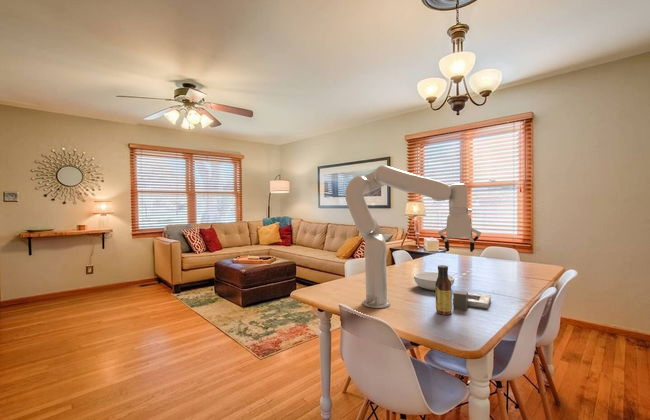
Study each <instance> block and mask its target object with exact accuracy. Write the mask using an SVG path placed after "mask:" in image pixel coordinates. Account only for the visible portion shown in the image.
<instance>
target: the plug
mask: <svg viewBox="0 0 650 420" xmlns="http://www.w3.org/2000/svg"><path fill="white" fill-rule="evenodd" d="M468 293H469V292H468V291H466V292H465V290H456V289H455V290H454V292H453V298H452V300H453V299H454V304H453V310H457V311H464V312H467V310H468V309H469V307H468Z"/></svg>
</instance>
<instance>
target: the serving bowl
mask: <svg viewBox="0 0 650 420" xmlns="http://www.w3.org/2000/svg"><path fill="white" fill-rule="evenodd" d="M437 278H438V272H435V271H434V272H433V271H425V272H424V271H423V272H417V273H414V275H413V280H414V282H415V284H416V285H417V286H419V287H420V288H423V289H425V290H428V291H435V284H436V281H437ZM448 278H449V280H450V282H451V287H452V286H453V285H454V283H455V279H456V278H455V277H454V276H453V275H451V274H448Z"/></svg>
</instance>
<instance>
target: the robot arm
mask: <svg viewBox="0 0 650 420" xmlns="http://www.w3.org/2000/svg"><path fill="white" fill-rule="evenodd" d="M384 186H386V187H390V188H393V189H396V190H399V191H402V192H406V193H410V194H418V195H422V196H425V197H428V198H431V200H433V201H436V202H443V201H448V212H449V214H447V218H446V227H445V228H443V229H442V230H441V229H440V230H439V231H438V233H437V234H438V235H439V237H440V238H441V240H443V242H444V248H445V249H446V250H445V251H446V252H448V251H450V241H449V240H450V239H468V240H469V241H470V242H469V250H470V251H469V252H470V253H473V252H474V250H475V243H476V241H477V240H478V239H479V238H480V237H481V235H482V232H481V231H479V230H477V229H475V228H473V224H472V218H471V215H470V214H469V213H472V212H473V211H472V208H468V206H469V205H468V204H469V203H468V186H467V184H466V183H452V184H450V185H449V184H447V183H445V182H442V181H439V180H436V179H432V178H428V177H425V176H422V175H418V174H415V173H410V172H407V171H404V170H401V169H397V168H394V167H392V166H388V165H379V166H378V167H377V168H376V169H375V171H372V172H370V173H368V174H365V175H356V176H355V177H353V178H352V179H351V180H350V181H349V182H348V184H347V186H346V189H345V195H344V197H345V202H346V205H347V208H348V210H349V212H350V215H351V218H352V219H353V222H354V225H355V226H356V227H355V228H356V229H357V231H358V232H359V234H361V236H362V238H363V241H364V243H365V244H364V258H365V262H364V264H365V267H364V268H365V299H363V300H362V305H363V306H364V307H367V308H372V309H384V308H388V307H390V306H391V301H390V299H388V296H387V295H388V293H387V292H388V288H387V285H388V283H387V242H386V238H385V236H384V234H383V232H382V230H381V228H380V226H379V223H378V221H377V219H376V217H375V216H373V215H372V212H371V211H370V209H369V206H368V204H367V201H366V200H365V195H366V194H369V193H372V192H373V191H375V190H378V189H380V188H383V187H384ZM445 232H446V234H445V235H446V236H444V233H445ZM473 233H475V234H476V235H475V237H473Z"/></svg>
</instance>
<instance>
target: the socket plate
mask: <svg viewBox="0 0 650 420" xmlns="http://www.w3.org/2000/svg"><path fill="white" fill-rule="evenodd" d="M464 291H465V290H464ZM465 292H467V291H465ZM491 298H492V296H491V295H489V294H482V293H473V292H468V308H476V309H482V310H489V307H490V305H491V300H492V299H491ZM452 305H454V299H453V298H452Z"/></svg>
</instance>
